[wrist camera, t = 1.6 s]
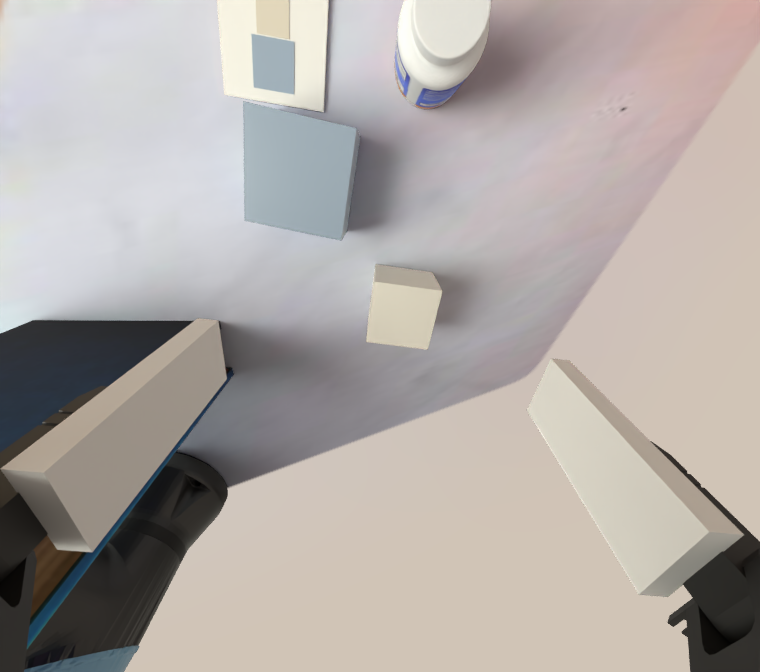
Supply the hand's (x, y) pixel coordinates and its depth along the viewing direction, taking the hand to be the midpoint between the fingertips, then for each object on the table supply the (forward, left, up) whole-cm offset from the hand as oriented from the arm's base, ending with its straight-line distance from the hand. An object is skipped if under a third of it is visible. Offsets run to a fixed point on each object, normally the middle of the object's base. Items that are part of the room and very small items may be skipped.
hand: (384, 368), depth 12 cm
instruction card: (+16, +11, -21) cm, 28 cm away
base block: (+6, +8, -21) cm, 23 cm away
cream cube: (-4, -2, -21) cm, 21 cm away
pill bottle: (+15, -1, -21) cm, 26 cm away
